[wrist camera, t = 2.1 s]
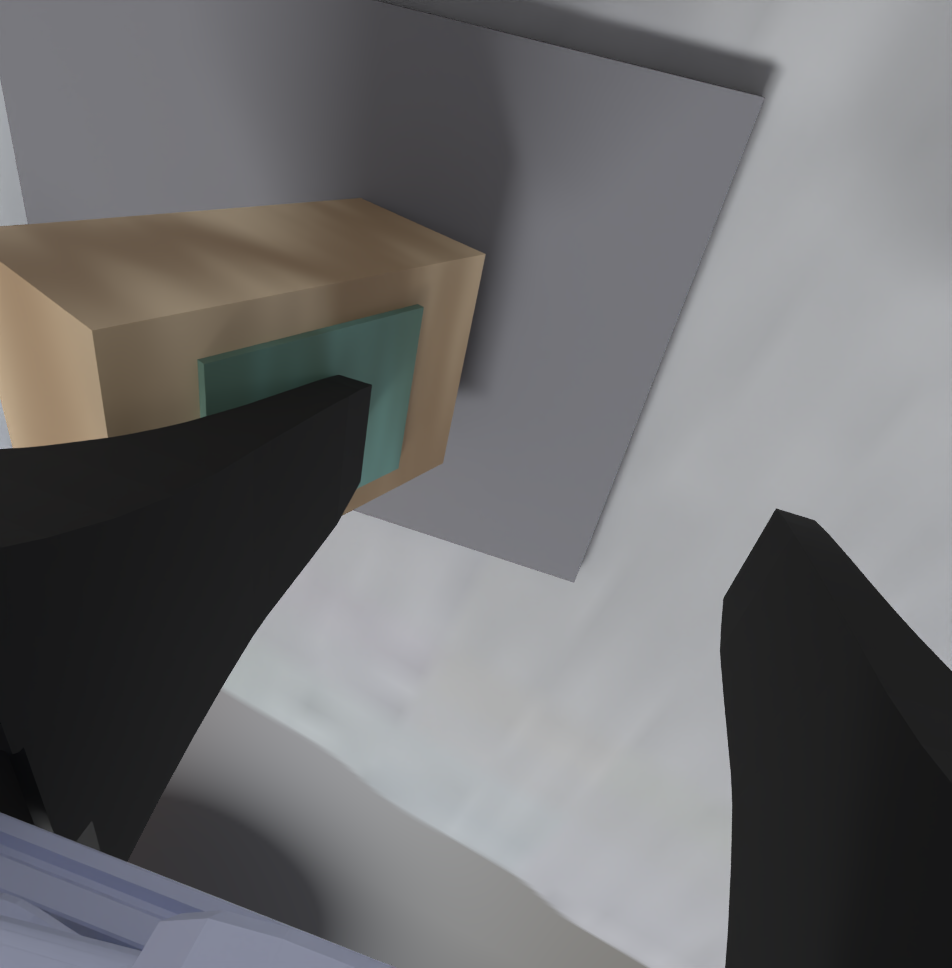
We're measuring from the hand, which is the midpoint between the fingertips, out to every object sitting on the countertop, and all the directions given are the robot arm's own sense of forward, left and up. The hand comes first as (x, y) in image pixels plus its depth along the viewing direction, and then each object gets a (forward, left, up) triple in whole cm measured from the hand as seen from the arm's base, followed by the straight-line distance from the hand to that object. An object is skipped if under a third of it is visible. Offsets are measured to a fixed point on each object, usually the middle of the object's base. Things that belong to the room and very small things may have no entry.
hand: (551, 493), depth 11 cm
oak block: (+4, 0, -4) cm, 6 cm away
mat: (+6, 0, -6) cm, 9 cm away
